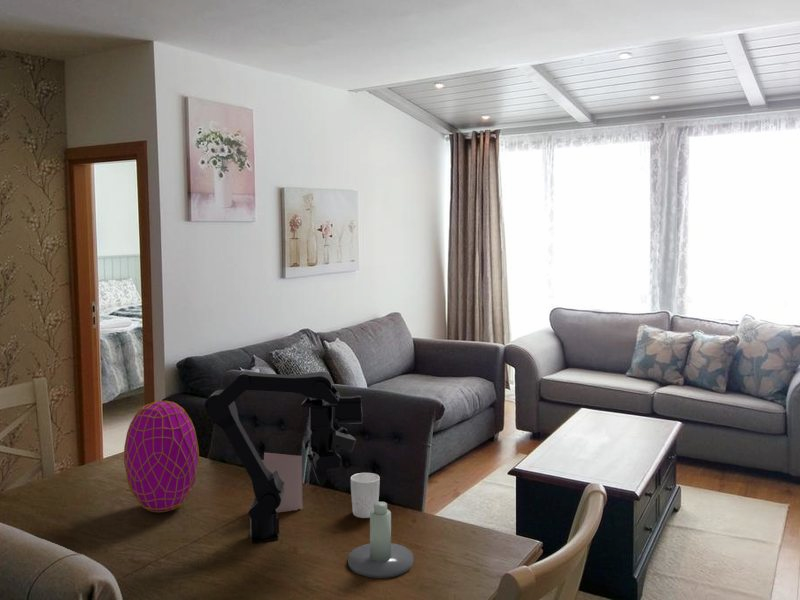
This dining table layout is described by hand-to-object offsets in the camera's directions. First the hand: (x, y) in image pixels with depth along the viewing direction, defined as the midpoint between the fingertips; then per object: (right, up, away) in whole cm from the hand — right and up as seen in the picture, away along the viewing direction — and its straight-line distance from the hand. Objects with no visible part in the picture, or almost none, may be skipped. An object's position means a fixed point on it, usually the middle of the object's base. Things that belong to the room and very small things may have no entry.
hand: (321, 485), depth 168 cm
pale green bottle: (+15, -13, -13) cm, 24 cm away
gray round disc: (+15, -14, -13) cm, 24 cm away
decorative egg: (-46, -12, +18) cm, 50 cm away
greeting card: (-14, -12, +17) cm, 25 cm away
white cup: (+10, -12, +15) cm, 22 cm away
